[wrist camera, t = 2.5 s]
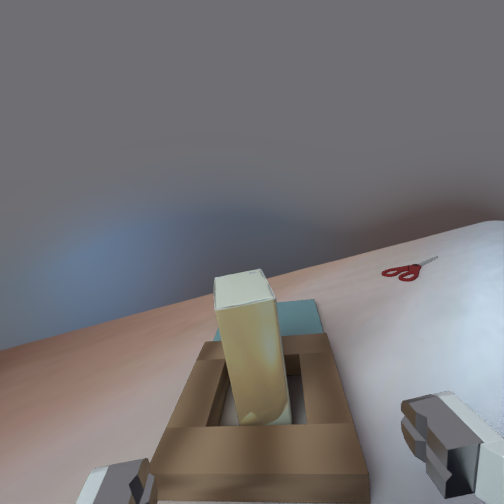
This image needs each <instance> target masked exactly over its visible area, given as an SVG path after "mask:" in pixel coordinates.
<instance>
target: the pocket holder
mask: <svg viewBox="0 0 504 504" xmlns="http://www.w3.org/2000/svg"><path fill="white" fill-rule="evenodd" d="M281 339H282V347H283V354H284V361H285V369H286V375H302V384H303V393H304V402H305V411H306V420H307V424H295V425H256V426H218V425H219V421H220V417H221V413H222V409H223V404H224V400H225V396H226V392H227V388H228V384H229V380H230V378H229V373H228V369H227V364H226V360H225V355H224V350H223V345H222V341H210V342H205V343H204V345H203V347H202V349H201V352H200V354H199V356H198V358H197V360H196V363H195V365H194V367H193V369H192V372H191V374H190V376H189V378H188V380H187V383H186V385H185V387H184V389H183V391H182V394H181V396H180V398H179V400H178V402H177V405H176V407H175V409H174V411H173V414H172V416H171V418H170V420H169V422H168V425H167V427H166V429H165V431H164V433H163V436H162V438H161V440H160V442H159V444H158V447H157V449H156V451H155V453H154V456H153V458H152V460H151V462H150V465H151V467H150V470H149V473H150V474H151V475H153V476H155V479H156V482H157V489H158V496H157V500H173V501H230V502H287V503H344V504H370V488H369V473H368V470H367V466H366V463H365V460H364V456H363V453H362V450H361V447H360V443H359V440H358V437H357V433H356V430H355V427H354V423H353V420H352V417H351V413H350V410H349V407H348V403H347V400H346V397H345V394H344V390H343V387H342V384H341V380H340V377H339V374H338V370H337V367H336V364H335V360H334V357H333V354H332V351H331V347H330V344H329V341H328V337H327V334H326V333H317V334H304V335H290V336H281Z"/></svg>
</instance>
